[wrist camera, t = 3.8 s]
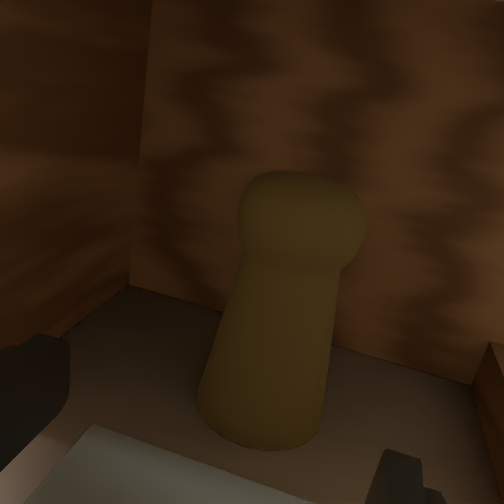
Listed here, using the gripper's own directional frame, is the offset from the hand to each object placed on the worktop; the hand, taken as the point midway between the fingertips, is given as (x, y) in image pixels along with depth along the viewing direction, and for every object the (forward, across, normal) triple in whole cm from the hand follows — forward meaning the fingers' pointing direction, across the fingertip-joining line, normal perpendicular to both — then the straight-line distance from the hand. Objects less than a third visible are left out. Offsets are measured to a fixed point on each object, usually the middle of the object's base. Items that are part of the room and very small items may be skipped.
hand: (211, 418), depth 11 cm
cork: (+10, 0, +7) cm, 12 cm away
